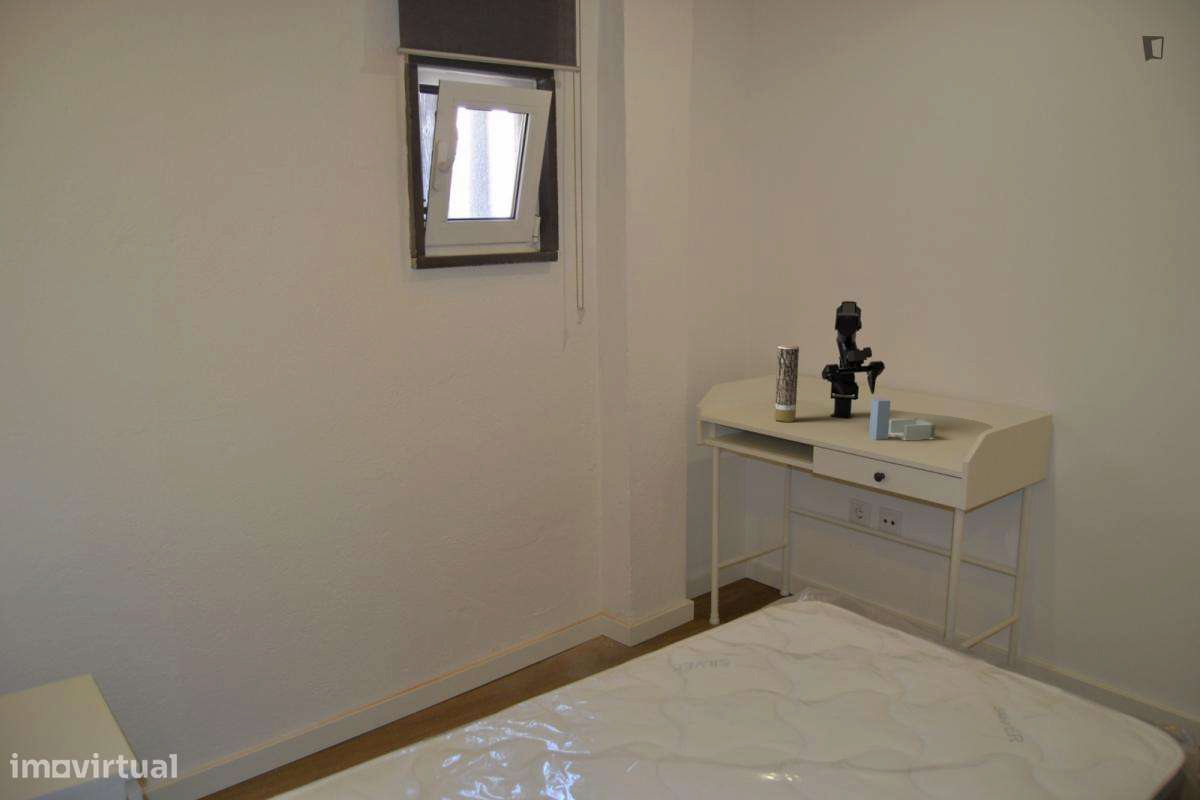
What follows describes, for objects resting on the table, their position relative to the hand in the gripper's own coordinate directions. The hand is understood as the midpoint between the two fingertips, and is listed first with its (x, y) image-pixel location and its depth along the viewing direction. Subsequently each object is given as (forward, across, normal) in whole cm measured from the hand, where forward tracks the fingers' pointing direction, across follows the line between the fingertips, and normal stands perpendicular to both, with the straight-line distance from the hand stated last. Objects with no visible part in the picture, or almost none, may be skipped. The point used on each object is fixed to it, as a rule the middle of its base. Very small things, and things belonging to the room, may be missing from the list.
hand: (858, 394), depth 272 cm
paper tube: (-2, -18, +22) cm, 29 cm away
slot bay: (+14, +14, +3) cm, 20 cm away
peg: (+15, +3, +1) cm, 15 cm away
